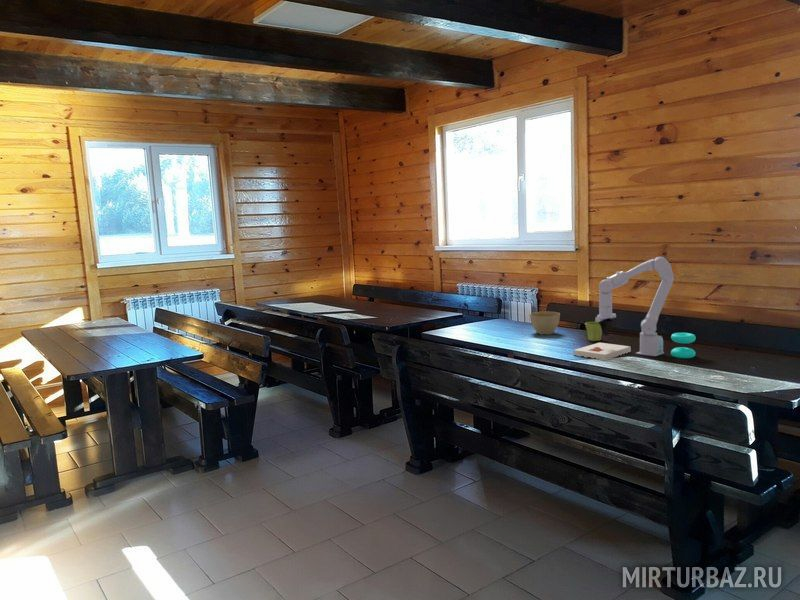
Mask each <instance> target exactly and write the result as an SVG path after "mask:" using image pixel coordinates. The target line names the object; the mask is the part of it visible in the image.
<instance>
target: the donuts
mask: <svg viewBox="0 0 800 600" xmlns="http://www.w3.org/2000/svg"><path fill="white" fill-rule="evenodd" d="M696 338H697V337H696V335H695V334H693V333H689V332H674V333H672V334H671V336H670V339H671V340H672V341H673V342H675V343H677V344H691V343H694V342H695V341H696ZM670 355H671V356H672V357H674V358H677V359H691V358H692V359H693V358H694V357H695V356H696V351H695V350H694V349H692V348H691V347H685V346H679V347H674V348H672V349H671V351H670Z"/></svg>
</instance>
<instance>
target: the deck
mask: <svg viewBox="0 0 800 600" xmlns="http://www.w3.org/2000/svg"><path fill="white" fill-rule="evenodd" d="M595 347H600V348H601V350H602V351H600V352H596V351H593V348H595ZM631 349H632V348H631V346H629V345H623V344H614V343H607V342H596V343H593V344H590V345H586V346H583V347H579V348H575V349H573V356H574V355H577V356H576V357H581V356H584V357H583V358H587V357H591V358H590V359H594V358H596V359H595V360H601V359H602V360H601V361H607V360H610V359H613V358H616V357H619V355H620V356H622V354H623V355H625V353H626V354H628V352H629V353H631V351H632V350H631ZM606 359H607V360H606Z"/></svg>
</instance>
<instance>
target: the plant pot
mask: <svg viewBox="0 0 800 600" xmlns="http://www.w3.org/2000/svg"><path fill="white" fill-rule="evenodd" d="M584 325H585V328H586V332H587V338H588V341H591V342H596V341H601V339H602V335H603V332H602V329H601V326H600V324H599V323H598V322H595V321H587V322H585V323H584Z"/></svg>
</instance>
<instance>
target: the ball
mask: <svg viewBox="0 0 800 600" xmlns="http://www.w3.org/2000/svg"><path fill="white" fill-rule="evenodd" d="M593 351H596V352H600V351H602V350H601V348H600V347H595V348H593Z"/></svg>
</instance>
